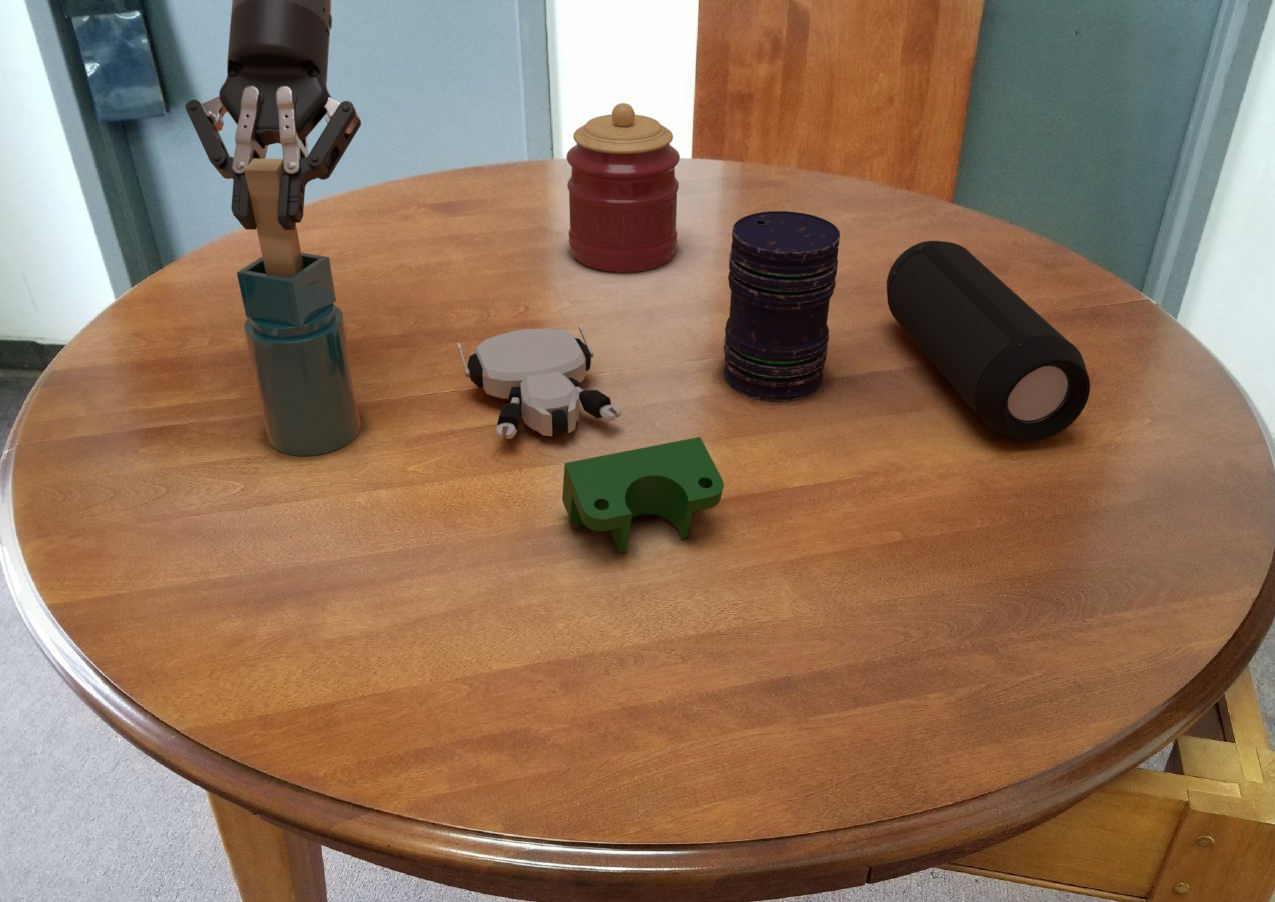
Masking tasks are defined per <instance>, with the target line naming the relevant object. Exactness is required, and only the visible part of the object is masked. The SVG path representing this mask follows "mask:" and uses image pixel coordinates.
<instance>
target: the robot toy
mask: <svg viewBox="0 0 1275 902" xmlns="http://www.w3.org/2000/svg"><path fill="white" fill-rule="evenodd" d="M578 331H579V333H580V334H581V337H582V339H583V341H582V340H581V339H580V338H578V337H575V336H574V334H573V333H572V332H569V331H567V330H563V329H559V328H528V329H527V328H526V329H518V330H512V331H509V332H504V333H501V334H497V335H495V336H491V337H489V338H487V339H484V340H483V341H482V342H481V343H480V344H477V345H476V347H475V349H474V352H473V354H471V355H469V356H468V360H467V363H466V359H465V357H464V354H463V350H462V345H461V343H460V342H457V346H456V347H457V351H458V352H459V355H460V358H461V359H460V360H461V361H462V365H463V369H464V375H465V378H469V380H470V381H471V382H472V383H473V384H474V385H475V386H476V387H477V388H478V389H480V390H484V392H485V393H486V395H489V396H492V397H496V398H498V399H502V400H503V399H505V400H508V403H506V404H503V405H502V406H501V410H500V411H499V412H500V413H499V416H498V419H497V423H496V428H495V431H494V433H495V436H496V437H497V438H498V439H503V437H504V436H505V439H508V440H511V439H513V438H514V437H515V435H517V434H518V432H519V428H520V425H521V421H522V420H523V423H524V424H525V425H526V426H527V427H528V428H529V429H532V431H533V432H538V433H539V434H540V435H542V436H544V437H545V436H546V437H553V434H556V435H563V434H565V433H566V432H568V433H567V434H570V433H572V432H573V431H575V430H576V427H577V426H576V425H577V421H579V419H580V404H581V407H582V409H583V411H584V412H585V413H587V414H589V415H590V416H592V417H594V418H595V419H603V420H605V421H607V422H612V421H615V420H616V418H617V419H618V418H620V417H621V414H622V411H621V409H620V408H619V406H618V405H617V404H616V405H614V404H612V401H611V398H610V397H609V396H607V394H605V393H603V392H602V391H600V390H598V389H585V390H584V389H582V388H581V384H580V383H581V382H582V381H585V376H586V373H587V372H589V371H590V370H591V366H592V365H591V364H592V358H594V351H593V349H592V348H591V346H590V344H589V342H588V340H587V337H586V335H585V332H584V328H583V325H581V324H578Z"/></svg>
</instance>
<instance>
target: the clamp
mask: <svg viewBox="0 0 1275 902" xmlns="http://www.w3.org/2000/svg"><path fill="white" fill-rule="evenodd" d="M724 486H725V483H724V480H723V478H722V476H721V474H720V472H719V470H718V468H717V466H716V464H715V462H714V460H713V459H712V456H711V455H710V453H709V451H708V449H707V447H706V445H705V444H704V441H703V439H702V438H701V436H697V437H692V438H687V439H682V440H676V441H672V442H667V443H660V444H655V445H650V446H646V447H640V448H636V449H630V450H624V451H620V452H614V453H610V454H603V455H600V456H594V457H588V458H584V459H579V460H574V461H573V460H572V461H569V462H568V461H567V462H564V467H563V482H562V496H561V501H562V504H563V506H564V509H565V511H566V514H567V516H568V519H569V522H570V523H571V525H573V526H575V527H578V528H584V527H586V528H588V529H589V530H591V531H595V532H607V531H610V534H611V536H612V539H613V541H614V543H615V546H616V548H617V550H618V553H619V554H622V553H627V551H628V544H629V537H630V531H631V525H632V518H634V517H637V516H641V515H655V516H659V517H662V518H664V519H666V520H667V521H669V522H670V523H672V524H673V526H674V527H675V528H676V529H677V531H678V533H679V538H680V540H685V539H688V538H689V532H690V527H691V523H692V517H693V513H695V512H699V511H703V510H708V509H712V508H714V507H716V506H718V504H720V502H721V499H722V495H723V491H724Z"/></svg>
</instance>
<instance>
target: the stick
mask: <svg viewBox="0 0 1275 902" xmlns="http://www.w3.org/2000/svg"><path fill="white" fill-rule="evenodd" d="M244 171H245V176H246V181H247V185H248V190H249V194H250V198H251V203H252V208H253V213H254V218H255V222H256V234H257V238H258V243H259V248H260V252H261V255H262V256H261V257H263V262H264V267H265V271H266V274H269V275H274V276H280V277H286V278H291V277H293V276H294V275H296V274H297V273H299V272H300V271H302V270H303V269H304V265H303V260H302V254H301V253H302V251H301V243H300V238H299V234H298V228H297V223H295V229H294V230H284V229H283V227H282V226H281V225H280V224H279V222H278V216H277V215H278V200H279V190H280V180H281V175H284V173H285V170H284V167H283V158H265V159H253V160H252V161H251V162H250V163H249V165H248V166H247V167H246V168H245V170H244Z"/></svg>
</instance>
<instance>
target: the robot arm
mask: <svg viewBox="0 0 1275 902" xmlns="http://www.w3.org/2000/svg"><path fill="white" fill-rule="evenodd" d="M230 13H231V14H230V24H229V25H230V26H229V38H228V51H227V61H226V62H227V63H226V65H227V66H226V68H227V70H226V71H227V72H226V73H227V75H226V79H225V81H224V83H223V84H222V86H221V87H220V89H219V92H218V96H217V97H214V98H212V99H210V100H207V101H205V102H203V103H201V101H199V100H197V99H190V100H188V102H186V104H185V110H186V112H187V115H188V117H189V119H190V121H191V123H192V125H193V128H194V130H195V132H196V134H197V136H198V138H199V141H200V143H201V145H202V147H203V149H204V151H205V153H206V156H207V157H208V160H209V162H210V163H211V165H212V166H213V167H214V168H215V169H216V171H217V172H218V173H219V174H220V175H221V177H222V178H223V179H226V180H230V179H231V180H233V181H232V195H231V196H232V197H231V207H230V209H231V212H232V215H233V216H234V218H235V219H236V220H237V221H238V222H239V224H240V225H241V226H242V227H243V229H244V230H246V231H251V230H253V231H256V230H257V228H256V222H255V218H254V213H253V208H252V203H251V198H250V194H249V190H248V185H247V181H246V176H245V171H244V170H245V168H246V167H247V166H248V165H249V163H250V162H251V161H252V160H253V159H267V153H268V147H269V146H270V145H275V144H280V145H281V149H282V159H283V167H284V170H285V173H284V175H281V180H280V190H279V200H278V215H277V216H278V222H279V224H280V225H281V226H282V227H283V229H284V230H294V229H295V223H296V224H298V223H299V224H300V223H301V222H302V220H303V218H304V212H305V211H304V209H305V195H306V186H307V184H309V182H311V181H313V180H317V179H319V180H321V181H322V180H323V181H325V180H328V179H329V178H330V177H331V175H332V174H333V172H334V170H335V169H336V167H337V166H338V165H339V162H340V160H341V159H342V157H343V155H344V154H345V152H346V150H347V149H348V147H349V146H350V144H351V143H352V141H353V139H354V137H355V136H356V134H357V133H358V131H359V129H360V128H361V125H362V120H361V118H360V115H359V114H358V111H357V109H356V108H355V106H354V104H353V102H351V101H349V100H344V101H342V102H340V101H339V100H337V99H334V98H332V96H331V94H330V92H329V90H328V86H327V84H328V71H329V69H328V68H329V53H330V37H331V30H332V27H333V16H332V0H232V1H231V12H230ZM227 113H228V114H229V116H230V117H231V118H232V120H233V121H234V123H235V124H236V131H235V136H234V141H235V149H234V154H233V157H232V156H231V155H230V153H229V152H228V149H227V147H226V145H225V143H224V141H223V138H222V136H221V133H220V132H221V131H222V130H223V127H224V116H225V114H227ZM323 118H325V122H326V126H325V127H324V129H323V130H322V132H321V134H320V135H319V137H318V139H317V140H316V142H315V144H314V145H313V147H312V148H311V150H310V152H309V147H308V146H309V145H308V136H309V135H310V134H311V133H312V131H313V130H314V129H315V128H316V127H317V126H318V125H319V123H320V122H321V121H322V120H323Z"/></svg>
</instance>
